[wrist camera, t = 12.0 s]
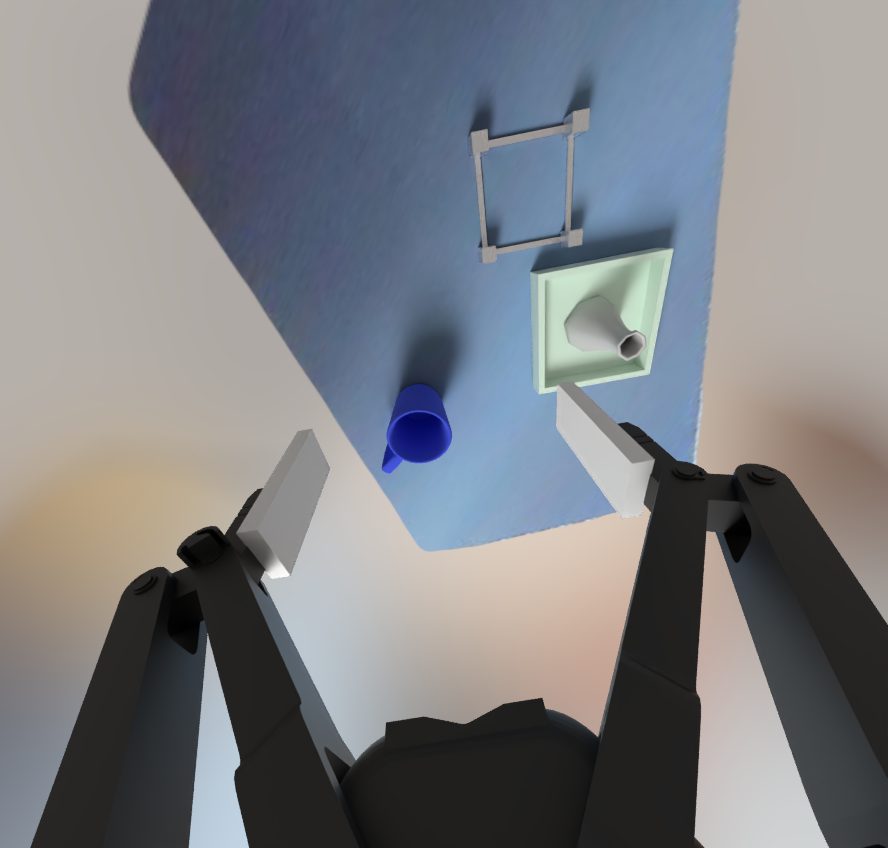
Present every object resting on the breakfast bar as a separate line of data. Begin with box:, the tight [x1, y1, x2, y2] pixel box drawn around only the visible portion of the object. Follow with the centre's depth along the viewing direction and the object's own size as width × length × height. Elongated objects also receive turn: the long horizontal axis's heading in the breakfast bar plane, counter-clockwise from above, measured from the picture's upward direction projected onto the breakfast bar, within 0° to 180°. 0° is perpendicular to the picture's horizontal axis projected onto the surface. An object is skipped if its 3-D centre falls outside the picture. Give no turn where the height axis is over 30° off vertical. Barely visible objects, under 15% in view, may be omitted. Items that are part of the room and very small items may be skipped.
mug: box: [382, 384, 452, 473], centre depth 45 cm, size 8×12×10 cm
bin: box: [530, 248, 673, 394], centre depth 42 cm, size 16×16×3 cm
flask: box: [564, 295, 646, 361], centre depth 39 cm, size 7×7×10 cm
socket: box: [468, 108, 590, 264], centre depth 34 cm, size 12×12×2 cm
